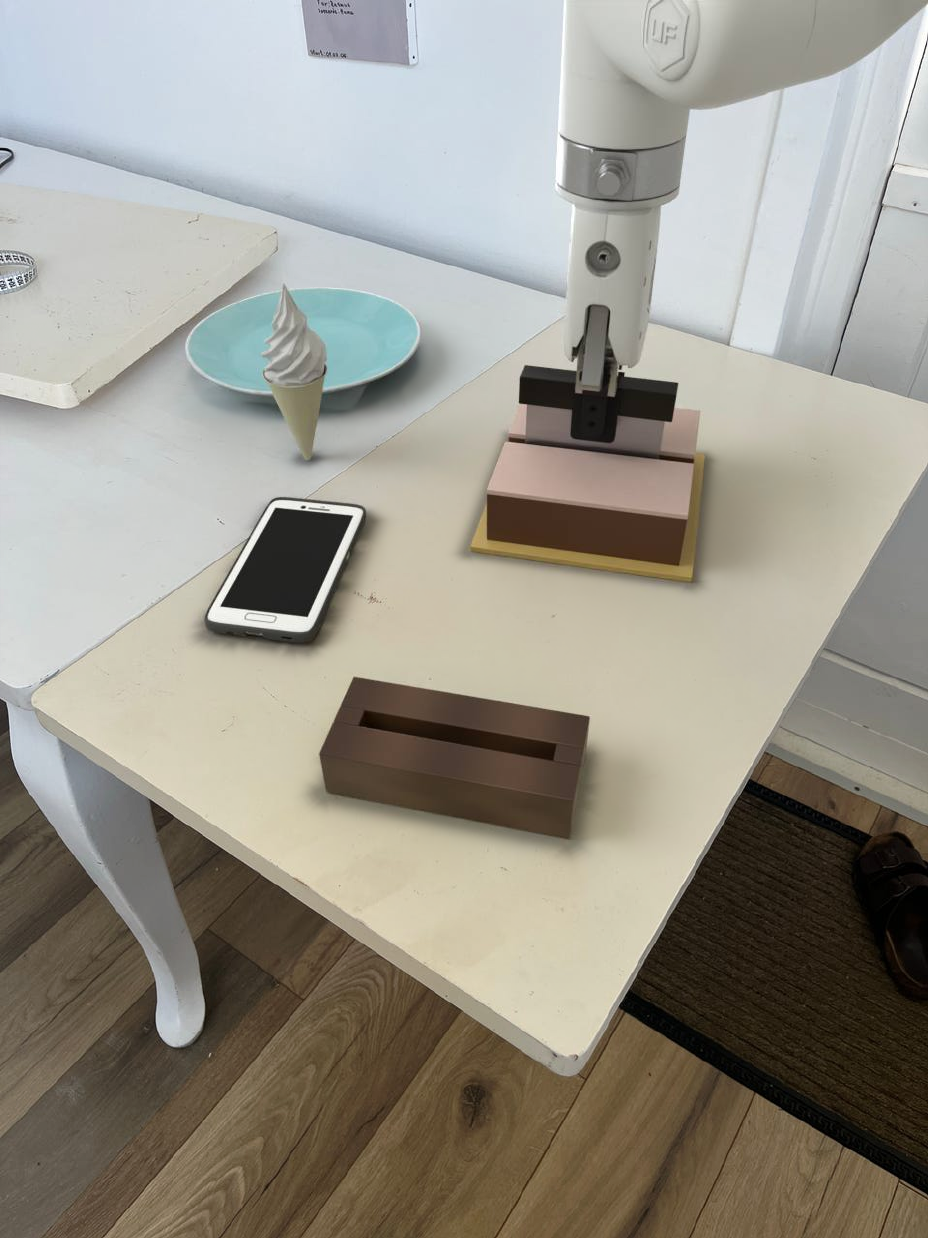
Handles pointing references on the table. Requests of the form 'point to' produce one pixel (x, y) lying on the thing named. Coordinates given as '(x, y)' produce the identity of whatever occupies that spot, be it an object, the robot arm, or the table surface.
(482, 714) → the brown slotted box
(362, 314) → the plate
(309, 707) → the table surface
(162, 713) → the table surface
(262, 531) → the cell phone
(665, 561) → the cake
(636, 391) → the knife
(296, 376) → the ice cream cone
